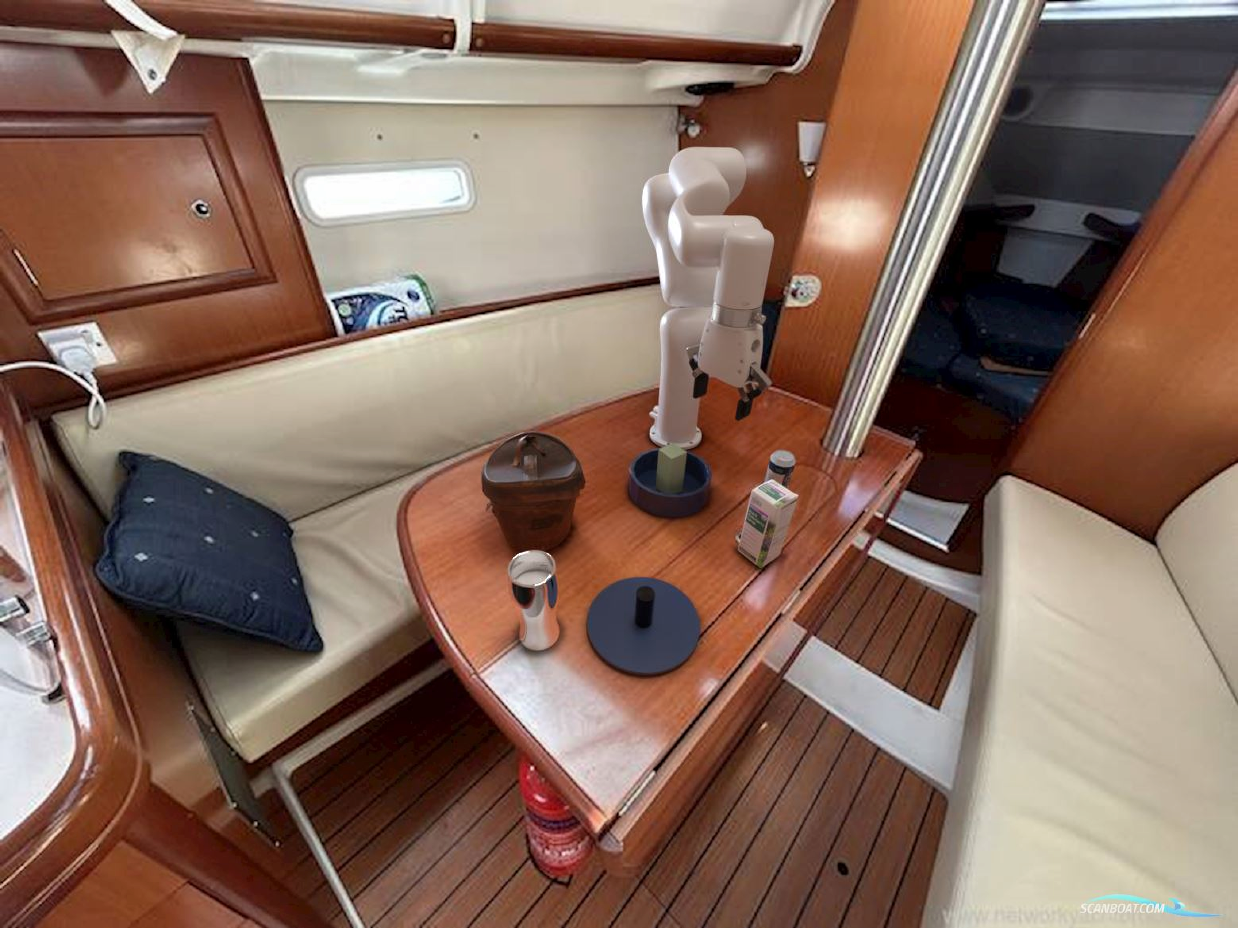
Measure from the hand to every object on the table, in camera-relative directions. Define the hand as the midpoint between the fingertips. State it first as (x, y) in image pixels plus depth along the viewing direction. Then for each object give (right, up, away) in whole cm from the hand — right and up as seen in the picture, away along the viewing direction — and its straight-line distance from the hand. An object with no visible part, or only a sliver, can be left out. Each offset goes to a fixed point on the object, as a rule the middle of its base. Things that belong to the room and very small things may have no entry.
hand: (719, 406), depth 90 cm
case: (-34, -23, +7) cm, 41 cm away
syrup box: (+8, -27, +2) cm, 28 cm away
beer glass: (-30, -37, -12) cm, 49 cm away
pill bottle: (+13, -18, +14) cm, 27 cm away
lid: (-14, -35, -11) cm, 40 cm away
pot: (-8, -16, +16) cm, 24 cm away
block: (-8, -16, +16) cm, 24 cm away
